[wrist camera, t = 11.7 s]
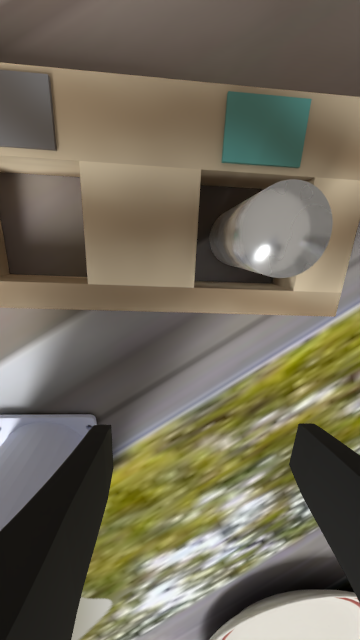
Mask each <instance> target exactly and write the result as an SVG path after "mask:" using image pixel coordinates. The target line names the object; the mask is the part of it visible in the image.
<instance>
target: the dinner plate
mask: <svg viewBox="0 0 360 640" xmlns="http://www.w3.org/2000/svg"><path fill="white" fill-rule="evenodd" d="M209 640H360V603H359V601H358V598H357V596H356V594H355V593H354V592H348V591H341V590H296V591H289V592H284V593H280V594H276V595H273V596H270V597H267V598H264V599H262V600H260V601H258V602H256V603H254V604H252V605H250V606H248V607H247V608H245V609H244V610H243V611H241V612H240V613H239V614H238V615H236V616H234V617H233V618H232V619H230V620H229V621H228V622H226V623H225V624H224V625H223V626H222V627H221V628H220V629H218V630H217V632H216V633H215V634H214V635H213V636H212V637H211V638H210V639H209Z"/></svg>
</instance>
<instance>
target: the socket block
mask: <svg viewBox="0 0 360 640" xmlns="http://www.w3.org/2000/svg"><path fill="white" fill-rule="evenodd" d="M0 172H10V173H25V174H40V175H56V176H71V177H80V181H81V195H82V209H83V223H84V237H85V250H86V264H87V277H74V276H46V275H18V274H10V272H9V266H8V260H7V254H6V248H5V242H4V236H3V231H2V225H1V219H0V308H34V309H72V310H110V311H148V312H186V313H224V314H262V315H300V316H336V312H337V308H338V304H339V300H340V296H341V292H342V288H343V284H344V280H345V276H346V272H347V268H348V264H349V260H350V256H351V252H352V248H353V244H354V240H355V236H356V232H357V228H358V224H359V220H360V97H354V96H344V95H334V94H323V93H313V92H302V91H292V90H282V89H271V88H261V87H250V86H240V85H229V84H219V83H209V82H198V81H188V80H177V79H167V78H157V77H146V76H136V75H125V74H115V73H105V72H94V71H84V70H73V69H63V68H53V67H42V66H32V65H21V64H11V63H0ZM289 179H297V180H303V181H306V182H309V183H311V184H313V185H314V186H316V187H317V188H318V189H319V190H320V191H322V193H323V194H324V195H325V197H326V198H327V200H328V202H329V205H330V207H331V212H332V219H333V226H332V233H331V237H330V240H329V243H328V245H327V247H326V249H325V251H324V253H323V254H322V256H321V257H320V258H319V260H318V261H317V262H316V263H315V264H314V265H313V266H311V267H310V268H309V269H308V270H306V271H304V272H303V273H301V274H298V275H296V276H293V277H288V278H274V277H273V279H272V284H268V283H241V282H213V281H194V279H195V263H196V246H197V230H198V214H199V198H200V185H210V186H225V187H241V188H256V189H266V188H267V187H269V186H271V185H273V184H275V183H277V182H280V181H283V180H289Z"/></svg>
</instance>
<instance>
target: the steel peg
mask: <svg viewBox="0 0 360 640" xmlns="http://www.w3.org/2000/svg"><path fill="white" fill-rule="evenodd" d="M332 226H333V219H332V212H331V207H330V205H329V202H328V200H327V198H326V197H325V195H324V194H323V193H322V191H320V190H319V189H318V188H317V187H316V186H314V185H313V184H311V183H309V182H306V181H303V180H297V179H289V180H283V181H280V182H277V183H275V184H273V185H271V186H269V187H267V188H266V189H264V190H262V191H260V192H259V193H257V194H255V195H254V196H252V197H250V198H249V199H247V200H245V201H243V202H242V203H240V204H238V205H237V206H235V207H233V208H231V209H230V210H228V211H226V212H225V213H223V214H222V215H220V216H219V217H218V218H217V219H216V221H215V222H214V224H213V226H212V228H211V231H210V237H209V241H210V247H211V250H212V252H213V254H214V255H215V257H216V258H217V259H218V260H219V261H221V262H223V263H225V264H227V265H231V266H234V267H238V268H241V269H245V270H249V271H252V272H256V273H259V274H263V275H266V276H270V277H274V278H288V277H293V276H296V275H298V274H301V273H303V272H304V271H306V270H308V269H309V268H310V267H311V266H313V265H314V264H315V263H316V262H317V261H318V260H319V258H320V257H321V256H322V254H323V253H324V251H325V249H326V247H327V245H328V243H329V240H330V237H331V233H332Z"/></svg>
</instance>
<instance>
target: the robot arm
mask: <svg viewBox="0 0 360 640" xmlns="http://www.w3.org/2000/svg"><path fill="white" fill-rule="evenodd" d="M88 425H91V426H92V427H89V426H88ZM289 465H290V468H291V470H292V473H293V475H294V478H295V480H296V482H297V485H298V487H299V489H300V492H301V494H302V496H303V498H304V500H305V502H306V503H307V505H308V507H309V509H310V511H311V513H312V515H313V516H314V518H315V520H316V522H317V524H318V526H319V527H320V529H321V531H322V533H323V535H324V536H325V538H326V540H327V542H328V544H329V546H330V547H331V549H332V551H333V553H334V555H335V556H336V558H337V560H338V562H339V564H340V565H341V567H342V569H343V571H344V573H345V575H346V577H347V579H348V581H349V582H350V584H351V586H352V588H353V590H354V592H355V594H356V596H357V598H358V601H359V603H360V455H358V454H357V453H355V452H354V451H353V450H351V449H350V448H348V447H347V446H346V445H344V444H343V443H341V442H340V441H339V440H337V439H336V438H334V437H333V436H332V435H330V434H329V433H327V432H326V431H324V430H323V429H321V428H320V427H318V426H317V425H315V424H299V425H298V429H297V433H296V438H295V442H294V446H293V450H292V455H291V459H290V463H289ZM112 472H113V453H112V434H111V425H97V423H96V417H95V416H93V415H90V414H55V415H0V640H71V637H72V633H73V628H74V624H75V619H76V614H77V609H78V606H79V601H80V598H81V594H82V590H83V586H84V582H85V579H86V575H87V572H88V568H89V564H90V561H91V557H92V554H93V550H94V547H95V543H96V540H97V536H98V532H99V529H100V525H101V522H102V518H103V514H104V511H105V507H106V503H107V500H108V494H109V489H110V484H111V478H112Z"/></svg>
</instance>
